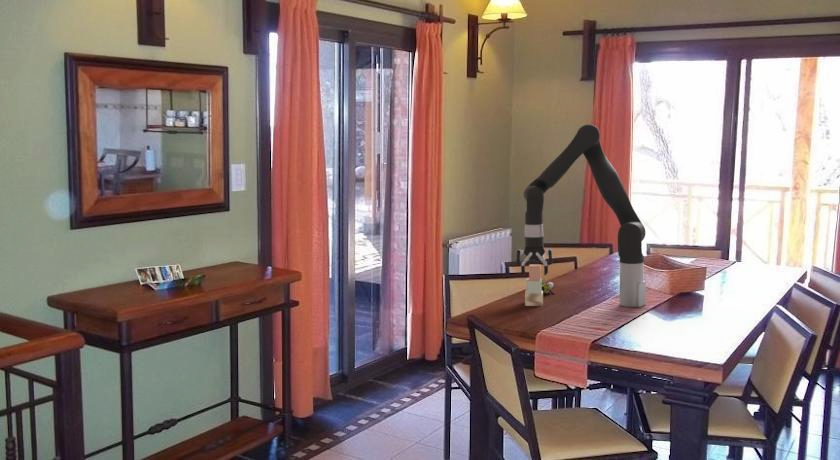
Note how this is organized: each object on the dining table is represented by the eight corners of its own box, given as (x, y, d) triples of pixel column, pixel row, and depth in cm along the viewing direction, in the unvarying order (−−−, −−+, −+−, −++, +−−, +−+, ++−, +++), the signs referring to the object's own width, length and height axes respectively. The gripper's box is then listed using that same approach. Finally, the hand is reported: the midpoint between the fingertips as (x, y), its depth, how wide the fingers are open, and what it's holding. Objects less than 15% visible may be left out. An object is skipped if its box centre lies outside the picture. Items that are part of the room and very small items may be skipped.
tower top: (541, 290, 320) (541, 278, 320) (541, 293, 314) (541, 281, 314) (526, 290, 321) (526, 278, 321) (526, 293, 315) (526, 281, 315)
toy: (550, 292, 326) (563, 287, 339) (537, 280, 328) (550, 276, 341) (540, 304, 328) (554, 298, 341) (528, 292, 331) (541, 287, 344)
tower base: (542, 302, 321) (542, 290, 320) (542, 306, 314) (542, 294, 314) (525, 302, 322) (525, 290, 322) (525, 306, 315) (524, 293, 315)
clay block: (540, 278, 319) (540, 264, 319) (540, 280, 315) (540, 266, 314) (529, 278, 320) (529, 264, 319) (529, 280, 316) (529, 266, 315)
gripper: (552, 234, 318) (552, 273, 319) (517, 234, 320) (517, 273, 322) (551, 236, 310) (552, 276, 312) (515, 236, 313) (516, 276, 315)
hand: (534, 274), depth 317 cm, fingers open, 8 cm apart
